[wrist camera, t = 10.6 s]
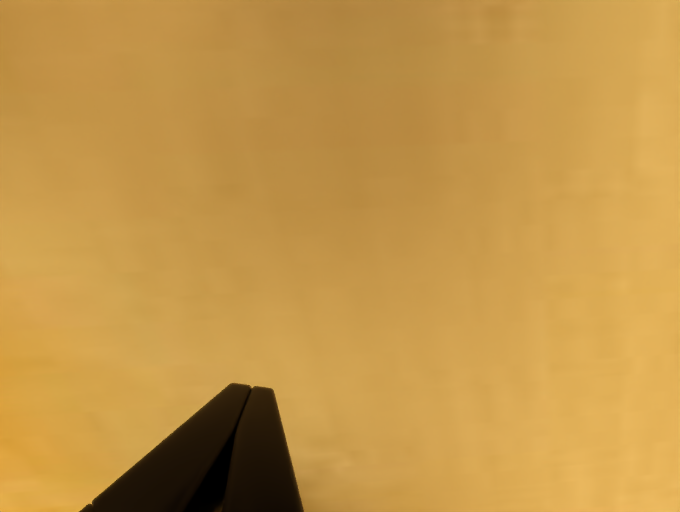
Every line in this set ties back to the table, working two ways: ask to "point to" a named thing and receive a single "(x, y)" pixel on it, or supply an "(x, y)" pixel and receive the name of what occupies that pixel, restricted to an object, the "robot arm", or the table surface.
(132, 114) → the table surface
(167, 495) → the robot arm
